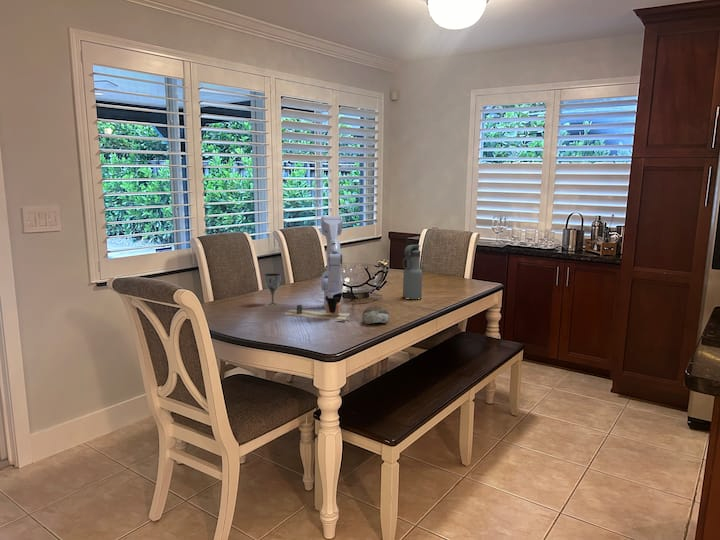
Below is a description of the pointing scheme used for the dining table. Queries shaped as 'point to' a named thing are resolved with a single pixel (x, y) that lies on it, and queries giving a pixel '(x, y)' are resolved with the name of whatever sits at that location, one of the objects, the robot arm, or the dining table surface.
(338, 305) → the collar
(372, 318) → the grey rounded lump
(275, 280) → the wine glass
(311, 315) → the board
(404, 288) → the water bottle
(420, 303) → the dining table surface
